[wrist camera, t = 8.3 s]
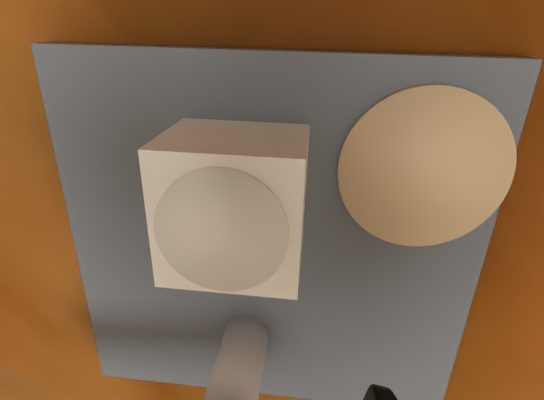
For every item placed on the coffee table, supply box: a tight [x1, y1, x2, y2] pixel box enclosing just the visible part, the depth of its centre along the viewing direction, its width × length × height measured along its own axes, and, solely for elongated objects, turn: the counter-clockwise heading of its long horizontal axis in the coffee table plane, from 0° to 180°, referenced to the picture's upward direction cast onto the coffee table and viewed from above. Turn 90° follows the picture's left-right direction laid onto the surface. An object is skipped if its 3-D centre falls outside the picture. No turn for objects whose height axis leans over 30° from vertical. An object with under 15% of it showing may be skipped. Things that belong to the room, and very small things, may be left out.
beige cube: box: [138, 118, 310, 300], centre depth 15 cm, size 5×5×5 cm
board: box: [31, 42, 543, 400], centre depth 17 cm, size 19×20×7 cm
